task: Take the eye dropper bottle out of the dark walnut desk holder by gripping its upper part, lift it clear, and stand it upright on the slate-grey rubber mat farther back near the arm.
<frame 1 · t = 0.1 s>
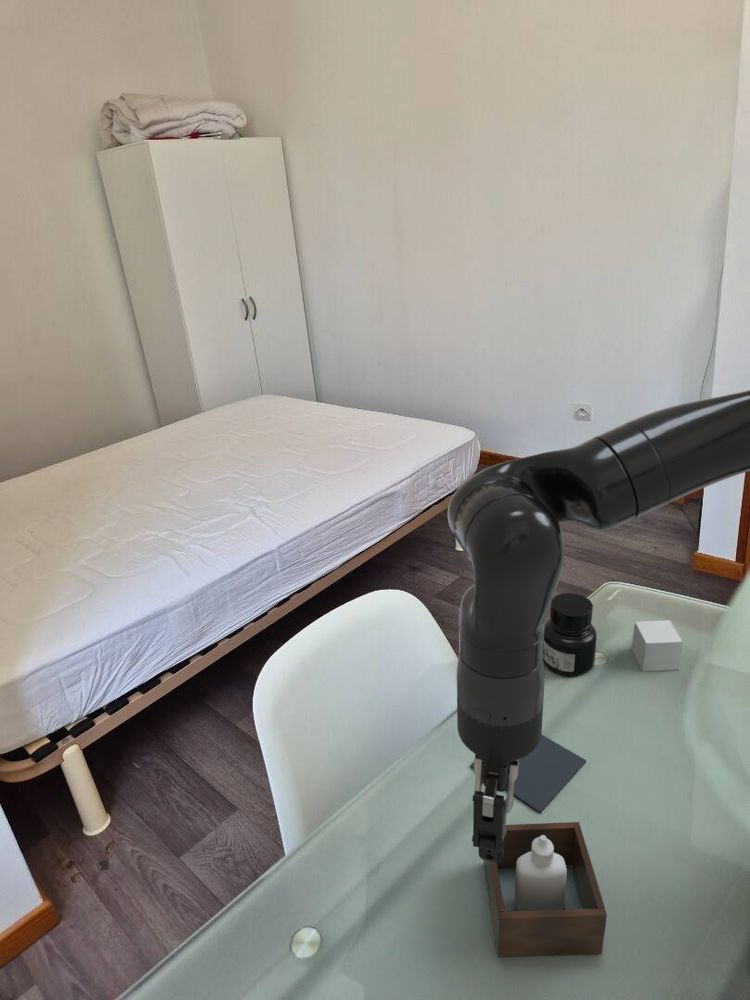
hand: (497, 819, 68), 22 cm above the table, tool pointing down, fingers open, 8 cm apart
ink bottle: (567, 661, 121), on the table
adhesive note: (654, 660, 120), on the table
mat: (528, 764, 101), on the table
holder: (538, 905, 82), on the table
eye dropper bottle: (538, 906, 82), resting in holder
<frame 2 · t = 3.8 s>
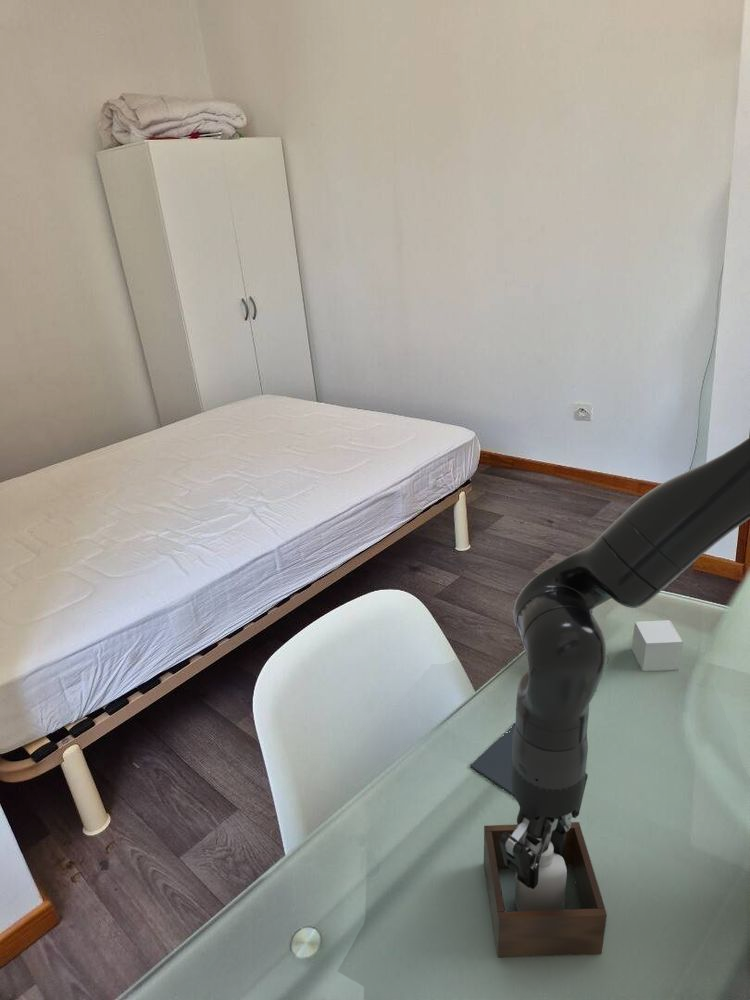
hand: (541, 864, 79), 7 cm above the table, tool pointing down, fingers closed on eye dropper bottle, 5 cm apart
eye dropper bottle: (538, 906, 82), resting in holder, touching gripper
everything else where it was.
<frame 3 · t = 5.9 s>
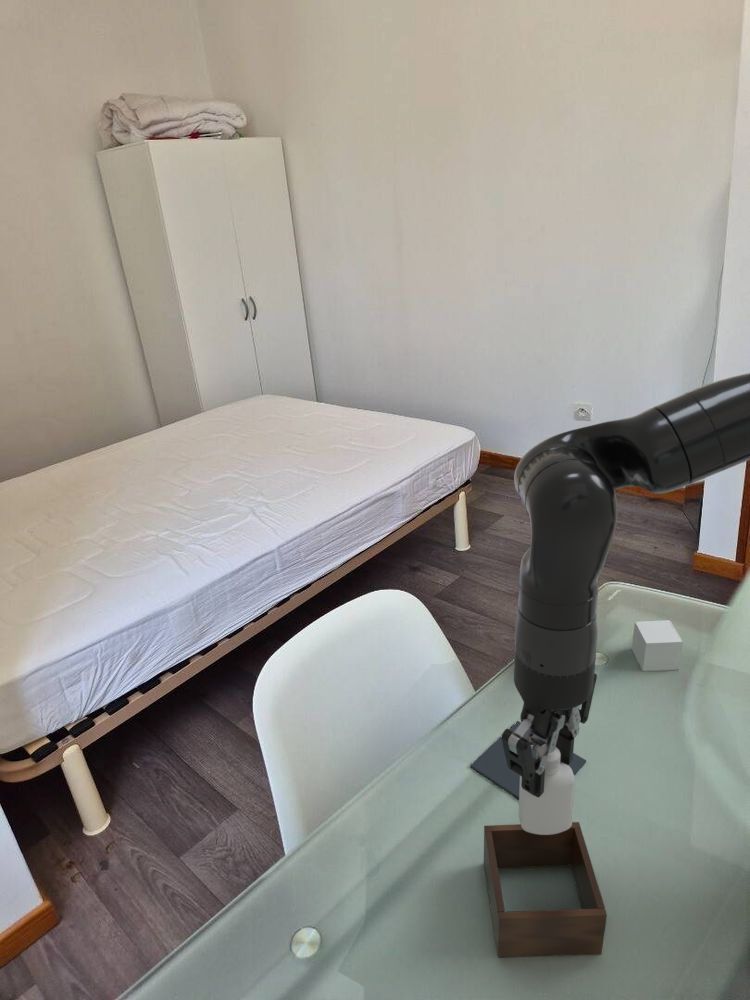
hand: (547, 774, 73), 22 cm above the table, tool pointing down, fingers closed on eye dropper bottle, 5 cm apart
eye dropper bottle: (544, 823, 76), point 14 cm above the table, touching gripper
everything else where it was.
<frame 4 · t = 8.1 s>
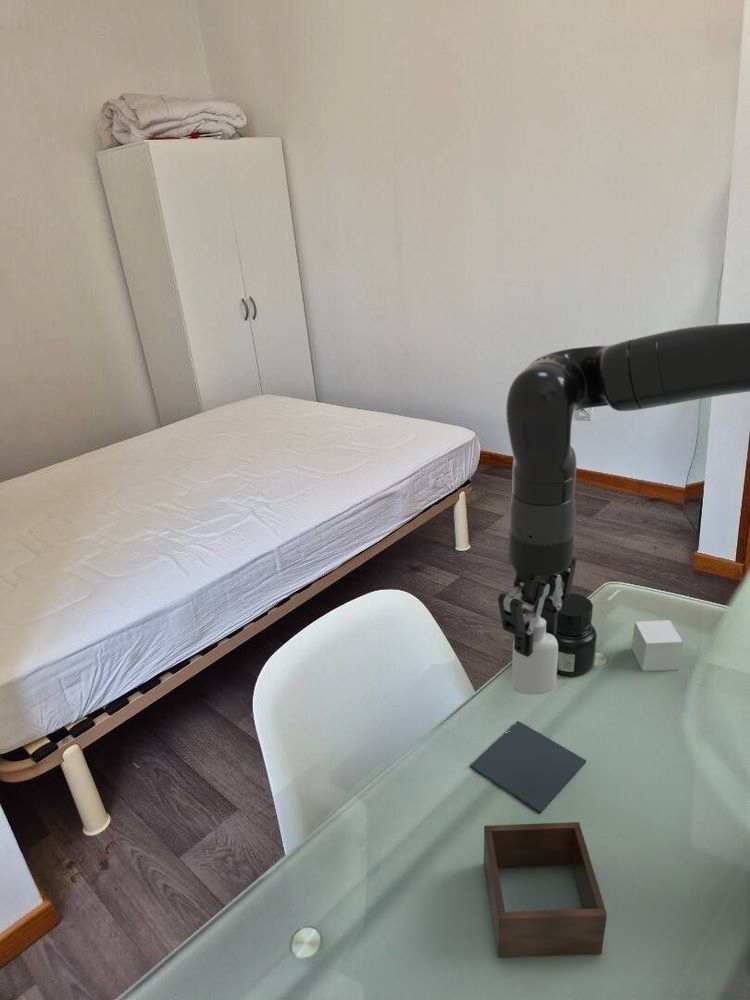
hand: (535, 641, 88), 24 cm above the table, tool pointing down, fingers closed on eye dropper bottle, 5 cm apart
eye dropper bottle: (533, 687, 92), point 17 cm above the table, touching gripper
everything else where it was.
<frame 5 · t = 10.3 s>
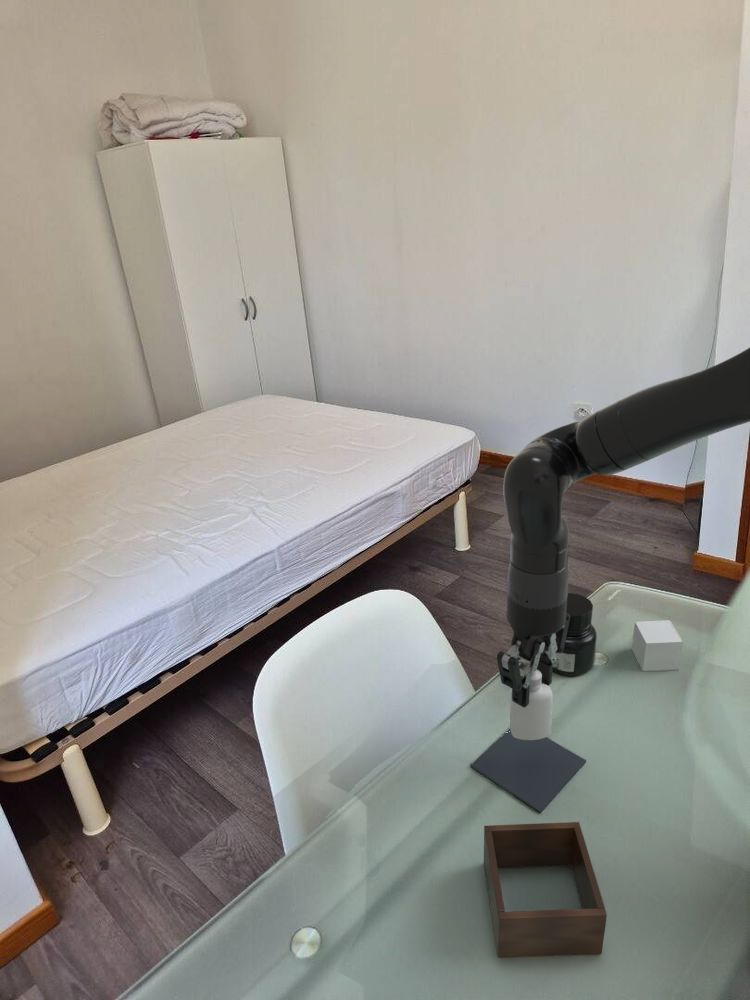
hand: (532, 692, 95), 14 cm above the table, tool pointing down, fingers closed on eye dropper bottle, 5 cm apart
eye dropper bottle: (530, 733, 98), point 6 cm above the table, touching gripper
everything else where it was.
when the fingers open (8 cm above the table, at t = 12.2 s): eye dropper bottle stays where it is, resting on mat.
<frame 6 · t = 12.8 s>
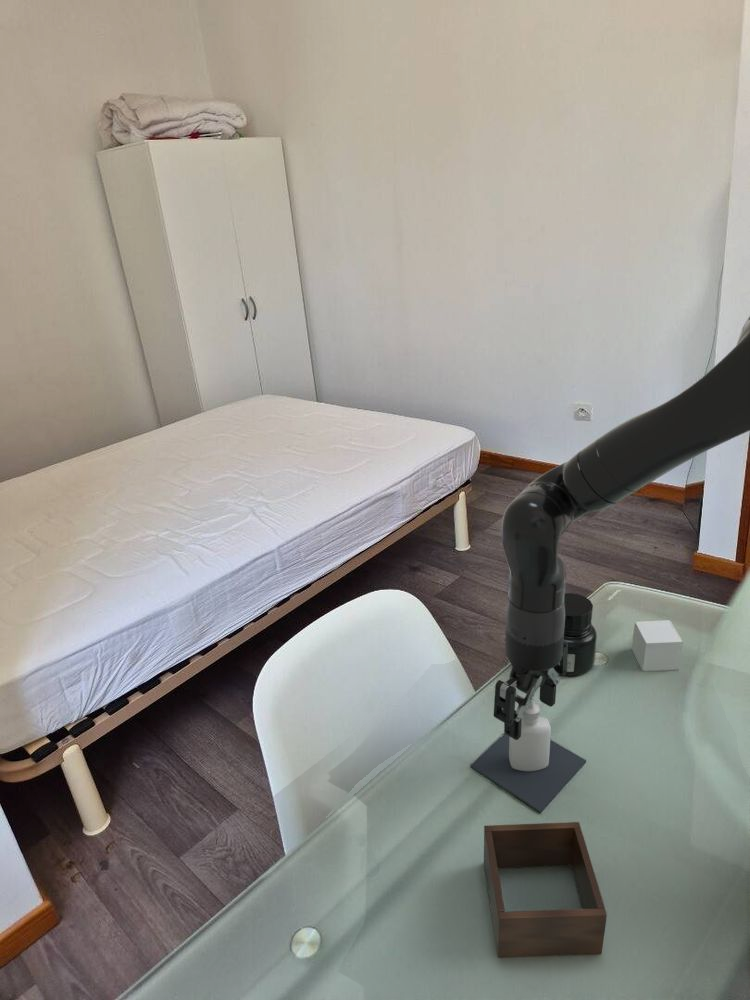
hand: (530, 718, 97), 9 cm above the table, tool pointing down, fingers open, 8 cm apart
eye dropper bottle: (528, 763, 101), resting on mat
everything else where it was.
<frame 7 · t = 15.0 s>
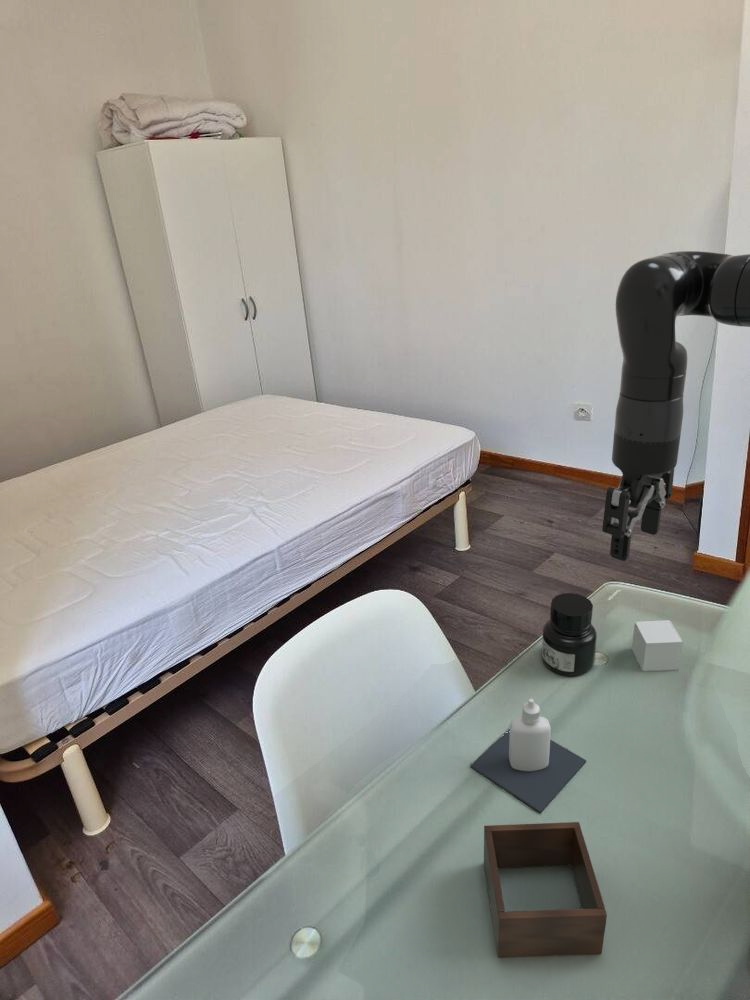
hand: (634, 544, 90), 34 cm above the table, tool pointing down, fingers open, 8 cm apart
nothing on the table moved.
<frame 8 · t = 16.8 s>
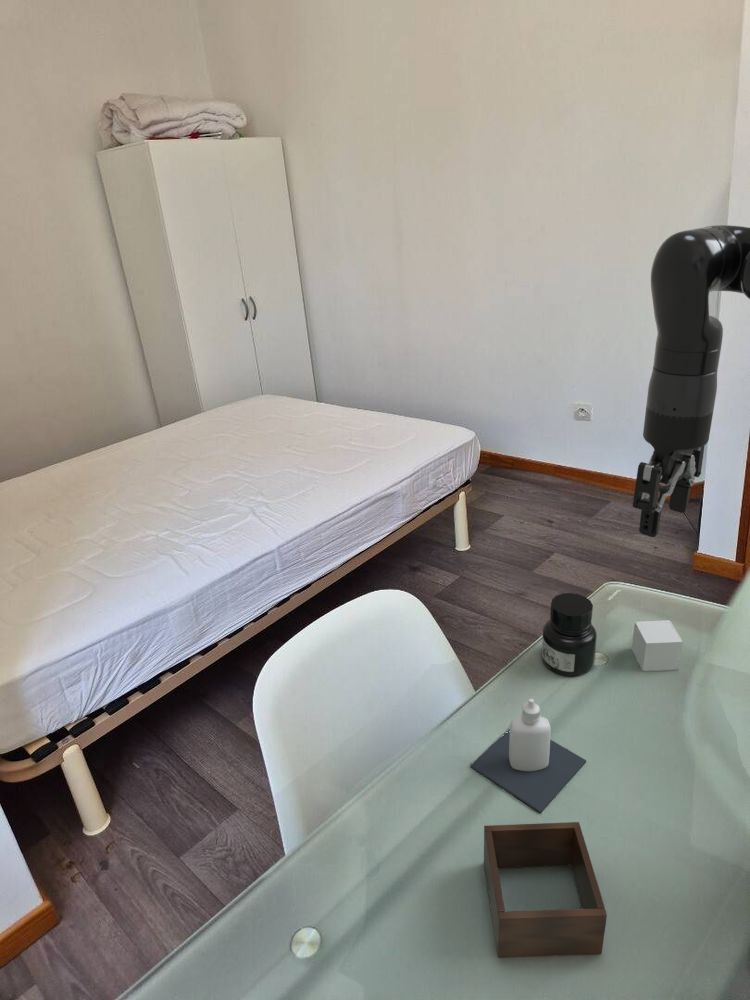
hand: (663, 522, 90), 36 cm above the table, tool pointing down, fingers open, 8 cm apart
nothing on the table moved.
at the end: eye dropper bottle inside the target area on the mat (0.1 cm from its centre), point 0.2 cm above the mat's base; eye dropper bottle tilted 0°; eye dropper bottle touching mat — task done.
